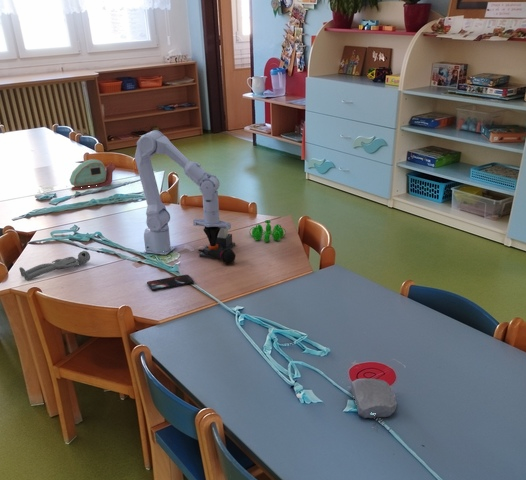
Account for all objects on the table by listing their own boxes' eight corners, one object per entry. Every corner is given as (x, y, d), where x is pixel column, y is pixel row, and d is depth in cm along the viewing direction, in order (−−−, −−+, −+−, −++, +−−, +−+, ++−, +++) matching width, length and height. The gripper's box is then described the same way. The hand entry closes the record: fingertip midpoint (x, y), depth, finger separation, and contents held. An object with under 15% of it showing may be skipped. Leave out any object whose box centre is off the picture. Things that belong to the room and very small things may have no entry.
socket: (211, 249, 226) (210, 237, 224) (217, 244, 231) (217, 232, 228) (226, 251, 224) (226, 239, 222) (232, 246, 229) (232, 234, 226)
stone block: (384, 394, 144) (346, 389, 142) (390, 378, 141) (351, 374, 139) (397, 425, 134) (356, 420, 132) (404, 409, 131) (362, 404, 129)
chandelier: (266, 246, 228) (266, 229, 225) (242, 237, 238) (241, 220, 234) (293, 237, 237) (293, 221, 233) (269, 228, 246) (269, 213, 243)
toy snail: (73, 191, 299) (68, 164, 292) (69, 188, 305) (64, 161, 298) (119, 184, 311) (116, 158, 304) (114, 181, 316) (111, 155, 309)
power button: (206, 250, 219) (206, 246, 218) (210, 247, 222) (210, 242, 221) (215, 252, 218) (215, 247, 217) (220, 248, 221) (220, 244, 220)
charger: (215, 241, 225) (214, 226, 222) (218, 238, 228) (218, 223, 225) (224, 242, 224) (224, 227, 221) (228, 239, 227) (227, 224, 224)
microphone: (196, 260, 224) (230, 268, 210) (191, 247, 220) (224, 254, 207) (206, 252, 226) (240, 259, 213) (200, 240, 223) (235, 246, 209)
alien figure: (17, 264, 203) (84, 246, 215) (20, 277, 206) (87, 258, 218) (23, 271, 198) (92, 253, 210) (27, 284, 200) (95, 265, 212)
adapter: (199, 257, 219) (199, 249, 218) (217, 243, 232) (216, 236, 230) (218, 259, 217) (218, 252, 215) (235, 245, 230) (235, 238, 228)
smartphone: (194, 281, 198) (151, 289, 192) (194, 283, 198) (152, 291, 193) (187, 274, 203) (146, 281, 198) (187, 275, 204) (146, 283, 198)
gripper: (188, 211, 211) (191, 246, 218) (224, 215, 207) (226, 251, 214) (197, 206, 217) (199, 240, 224) (232, 209, 212) (233, 244, 219)
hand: (213, 245), depth 219 cm, fingers closed, pressing on power button
